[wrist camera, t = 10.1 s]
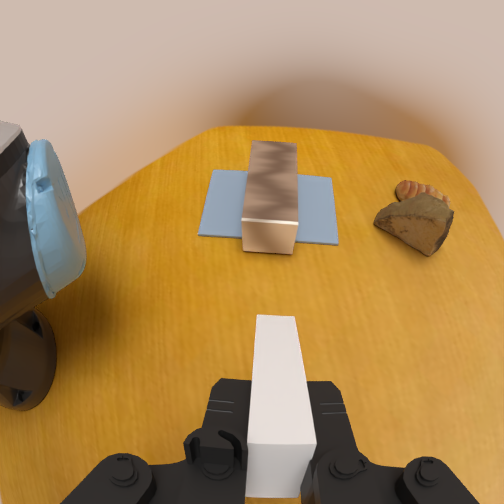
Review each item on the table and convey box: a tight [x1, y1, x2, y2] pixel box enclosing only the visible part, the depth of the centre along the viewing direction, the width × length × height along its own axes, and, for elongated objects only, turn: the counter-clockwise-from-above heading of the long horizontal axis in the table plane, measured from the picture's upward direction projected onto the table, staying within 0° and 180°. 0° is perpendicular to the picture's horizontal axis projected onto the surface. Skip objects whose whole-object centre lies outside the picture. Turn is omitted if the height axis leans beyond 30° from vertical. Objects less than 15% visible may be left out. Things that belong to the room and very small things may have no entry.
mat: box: [198, 170, 338, 245], centre depth 41 cm, size 18×12×1 cm, turn 85°
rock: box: [374, 192, 454, 256], centre depth 36 cm, size 11×9×10 cm
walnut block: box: [241, 140, 298, 254], centre depth 37 cm, size 6×6×14 cm
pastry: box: [396, 180, 450, 207], centre depth 40 cm, size 9×7×4 cm
